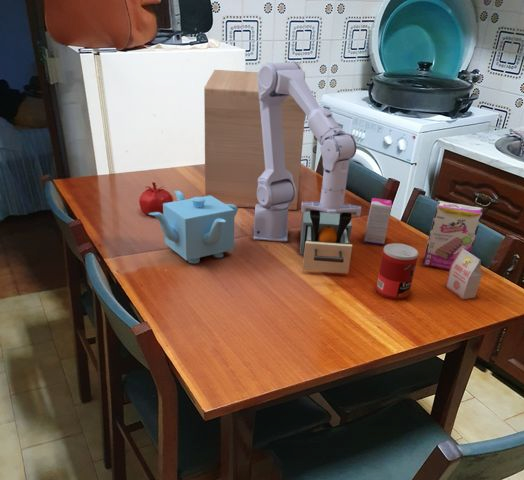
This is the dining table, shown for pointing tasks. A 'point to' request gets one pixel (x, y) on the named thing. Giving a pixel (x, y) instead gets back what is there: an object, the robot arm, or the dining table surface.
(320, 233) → the orange
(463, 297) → the white box
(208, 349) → the dining table surface
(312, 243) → the drawer
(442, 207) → the candy bar box
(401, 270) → the canned food
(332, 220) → the cabinet
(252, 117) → the storage cube
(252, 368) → the dining table surface
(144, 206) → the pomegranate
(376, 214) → the supplement box
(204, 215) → the teakettle
